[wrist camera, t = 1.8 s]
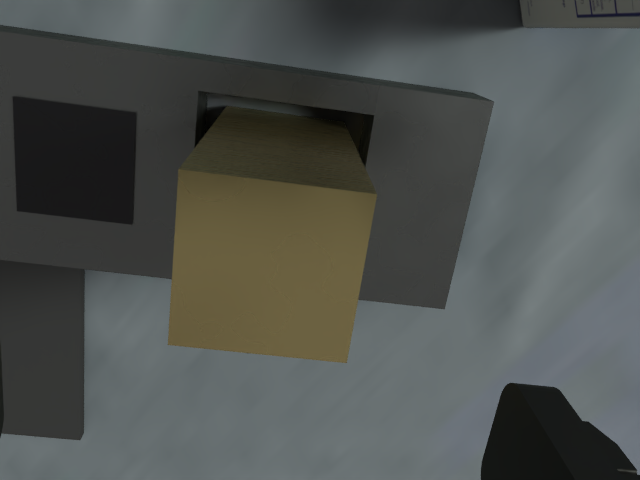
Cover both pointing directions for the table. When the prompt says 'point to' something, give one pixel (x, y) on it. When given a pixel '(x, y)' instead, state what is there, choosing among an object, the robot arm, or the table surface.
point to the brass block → (270, 237)
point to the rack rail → (183, 136)
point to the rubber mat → (42, 349)
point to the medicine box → (580, 13)
